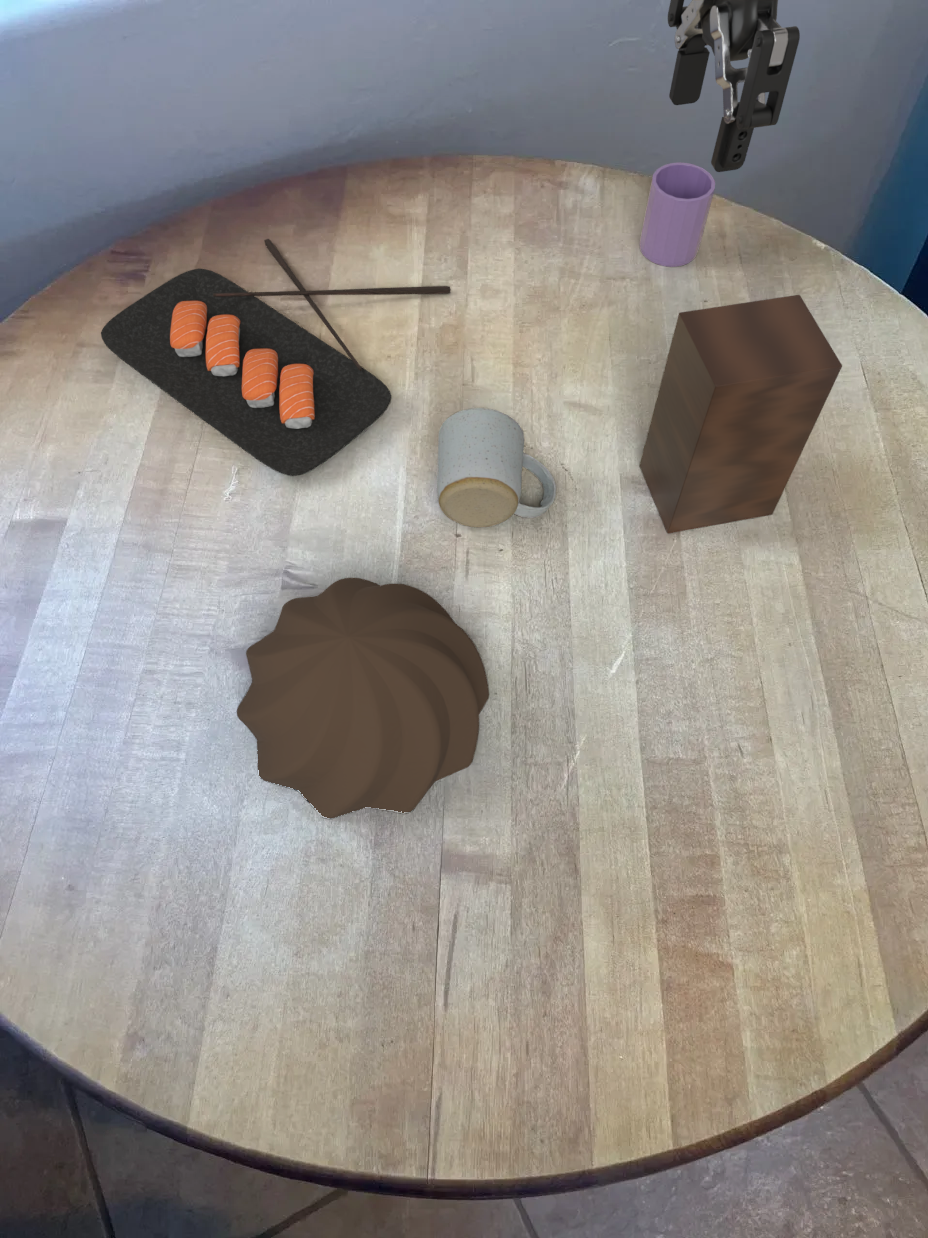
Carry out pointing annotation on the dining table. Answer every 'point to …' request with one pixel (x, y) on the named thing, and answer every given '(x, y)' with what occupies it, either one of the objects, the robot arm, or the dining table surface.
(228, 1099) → the dining table surface
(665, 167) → the tumbler
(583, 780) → the dining table surface
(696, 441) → the block
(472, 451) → the ceramic mug
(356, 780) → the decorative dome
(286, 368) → the sushi plate
